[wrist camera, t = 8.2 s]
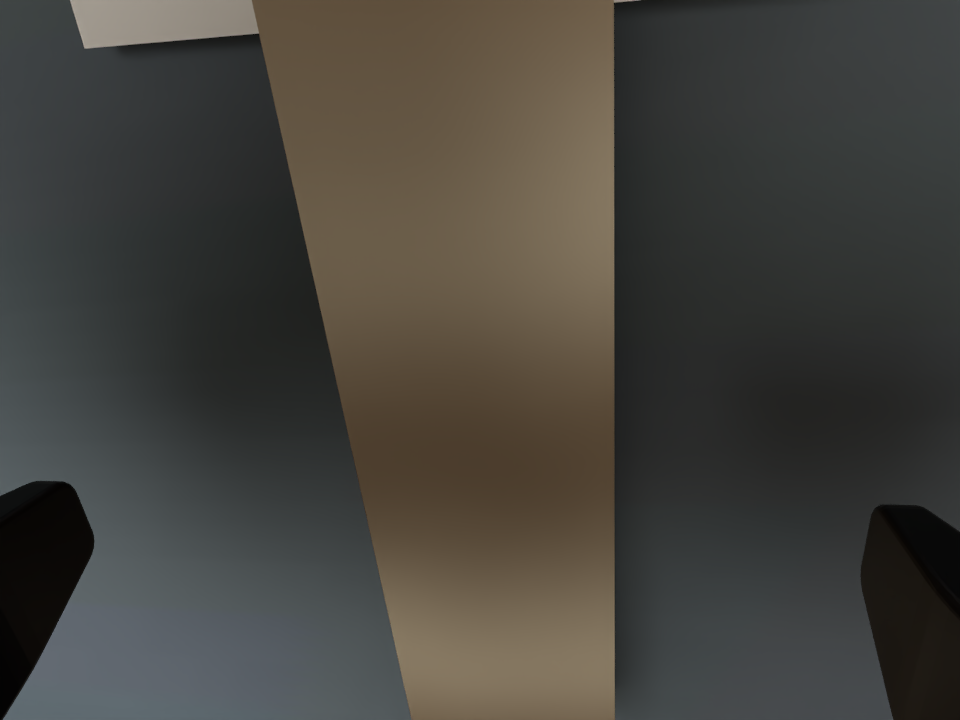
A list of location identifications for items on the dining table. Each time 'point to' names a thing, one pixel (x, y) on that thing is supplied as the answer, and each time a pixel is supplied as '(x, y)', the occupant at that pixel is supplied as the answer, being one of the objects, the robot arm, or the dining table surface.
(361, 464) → the rail
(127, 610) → the dining table surface
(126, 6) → the notched cream block
